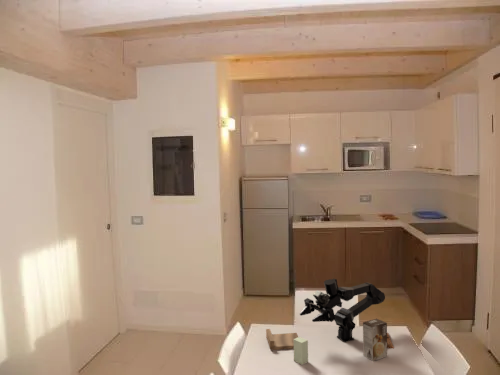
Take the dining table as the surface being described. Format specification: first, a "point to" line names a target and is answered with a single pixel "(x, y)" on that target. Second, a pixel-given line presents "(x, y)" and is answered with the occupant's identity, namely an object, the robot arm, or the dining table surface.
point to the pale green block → (300, 350)
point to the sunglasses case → (389, 342)
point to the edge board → (280, 340)
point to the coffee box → (375, 339)
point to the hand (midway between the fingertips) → (306, 317)
